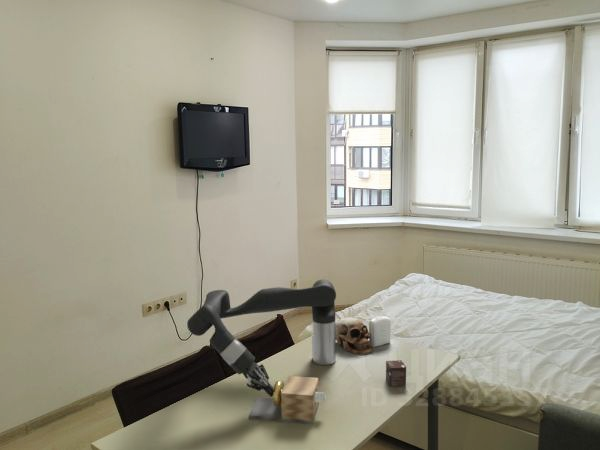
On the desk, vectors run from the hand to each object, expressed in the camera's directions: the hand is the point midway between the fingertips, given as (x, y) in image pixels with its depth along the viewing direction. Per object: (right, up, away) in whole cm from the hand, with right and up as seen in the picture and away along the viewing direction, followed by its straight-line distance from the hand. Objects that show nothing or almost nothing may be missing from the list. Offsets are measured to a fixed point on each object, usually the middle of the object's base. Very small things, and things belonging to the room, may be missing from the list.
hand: (274, 394), depth 157 cm
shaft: (+9, -4, -1) cm, 10 cm away
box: (+44, -3, +19) cm, 48 cm away
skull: (+32, +2, +53) cm, 62 cm away
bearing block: (+3, -6, 0) cm, 7 cm away
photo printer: (+44, +3, +55) cm, 70 cm away
